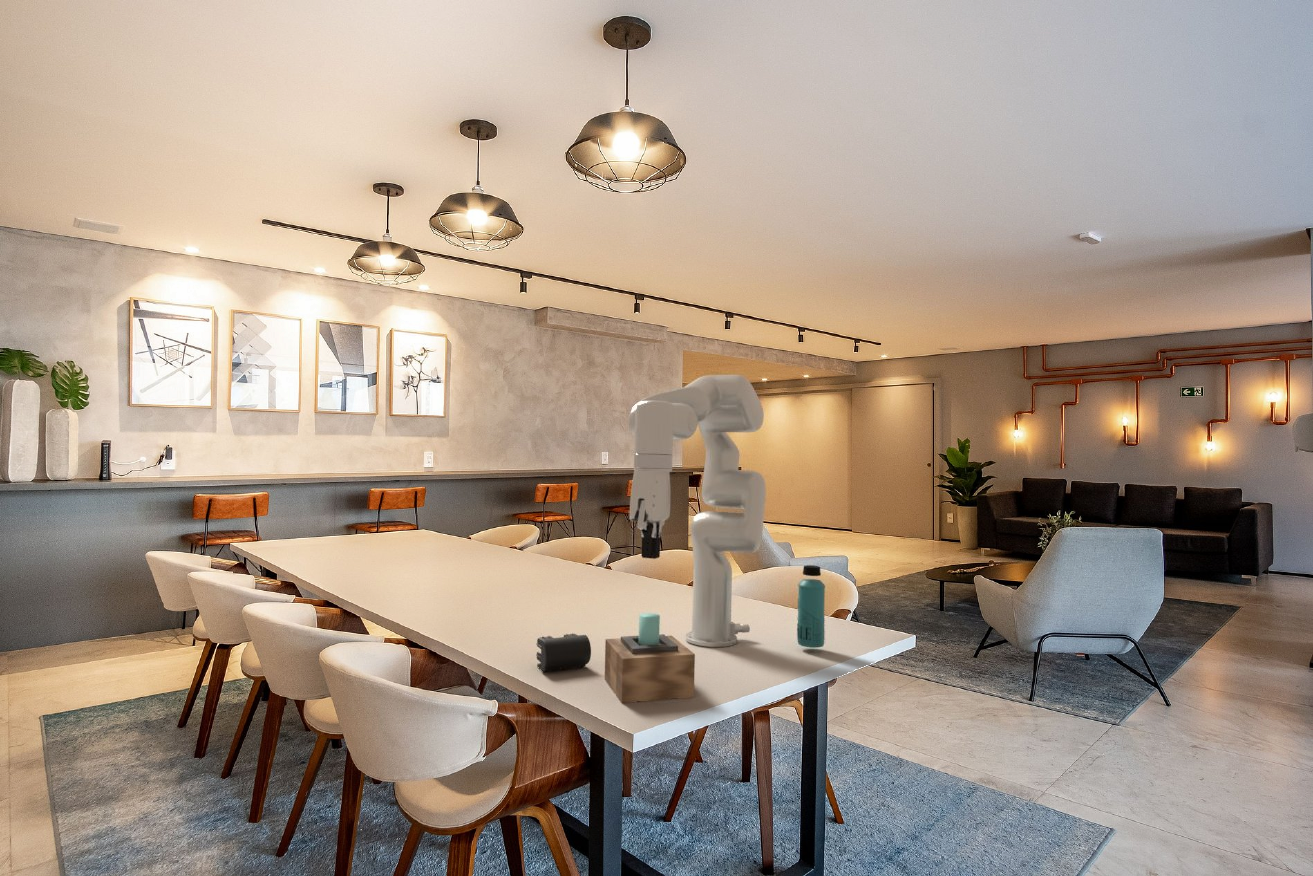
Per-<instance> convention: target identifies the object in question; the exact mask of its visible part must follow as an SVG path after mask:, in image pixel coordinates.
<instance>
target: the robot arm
mask: <svg viewBox="0 0 1313 876" xmlns="http://www.w3.org/2000/svg"><path fill="white" fill-rule="evenodd" d="M764 418H765V417H764V408H763V405H762V402H761V400H760V399H759V396H758V395H757V393H756V390H755V389H754V387H753V385H752V383H751V382H750V380H748V378H746V377H745V376H743V375H741V374H709V375H708V374H707V375H703V376H700V377H698V378H696V379H695V380H693V381H691V382H690V383H688V384H687V385H685V386H684V387H680V388H675V389H671V390H669V391H664V392H660V393H656V394H653V395H650V396H647V397H645V398H643V399H641V400H639V401H638V402H637V403H636V404H634V406H633V407H632V408H631V410H630V412H629V415H628V420H627V421H628V422H627V423H628V427H629V431H630V433H631V434H632V435H633V437H634V452H633V453H634V455H633V471H634V472H633V476H632V481H631V482H632V483H631V487H630V489H631V490H630V491H631V493H630V501H629V520H630V521H632V522H637V527H636V528H637V529H639V530H640V535H641V558H643V559H652V560H653V559H654V560H655V559H658V558H660V555H661V553H660V552H661V535H662V528H663V526H665V525H666V524H665V521H667V520H668V519H669V518H670V515H671V476H670V472H671V473H672V472H673V457H674V456H673V450H674V447H673V446H674V443H673V442H674V440H675V441H677V440H679V441H681V440H686V439H689V438H691V437H693V435H694V434H695V432H696V431H697V430H699V432H700V435H701V438H702V440H703V443H704V446H705V447H704V448H705V461H704V468H703V475H702V485H701V487H702V488H701V498H702V501H703V503H704V504H706V505H707V506H710V507H713V508H724V509H725V508H726V509H741V510H743V513H742V512H728V511H714V510H712V511H702V512H701V511H700V512H699V513H697V514H695V515H694V517H693V518H692V520H691V522H690V527H689V528H690V538H691V544H692V545H691V546H692V556H693V559H692V560H693V569H692V570H693V574H692V575H693V577H692V578H693V579H692V580H693V581H692V583H693V584H692V585H693V586H692V618H691V619H692V621H691V622H692V623H691V624H692V625H691V626H692V627H691V631H689V632H687V633H686V634H685V640H686V642H688V643H690V644H692V645H694V646H695V645H696V646H700V647H707V648H708V647H709V648H710V647H711V648H722V647H729V646H732V645H735V644H737V642H738V637H737V635H738V633H742V634H743V633H750V629H751V628H750V625H749V623H747V624H741V623H740V622H739V623H735V622H734V621H732V604H733V603H732V602H733V601H732V600H733V599H732V597H733V596H732V595H733V590H732V589H733V569H732V565H731V562H730V560H729V559H728V558H727V556H726V555H725V552H729V553H739V554H750V553H751V554H754V553H755V552H757V551H758V550H759V548H760V546H761V544H762V538H763V529H764V518H765V510H766V509H765V507H766V496H767V487H766V482H765V478H764V477H763V474H761V473H760V472H758V471H754V470H745V469H744V470H743V469H741V470H740V469H739V465H740V464H739V462H740V451H739V448H738V447H737V445H736V443H735V442H734V441H733V439H732V438H731V437H730V436H729V435H728V433H747V434H748V433H755V432H757V431H758V430H760V428H762V426H763V423H764ZM697 428H698V429H697Z"/></svg>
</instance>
